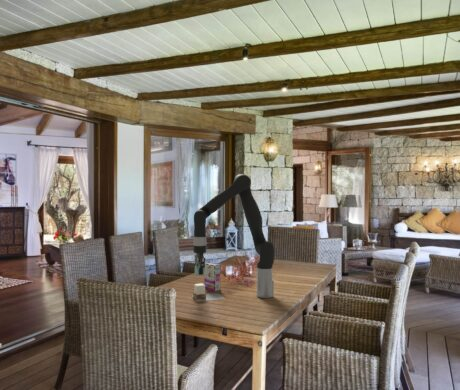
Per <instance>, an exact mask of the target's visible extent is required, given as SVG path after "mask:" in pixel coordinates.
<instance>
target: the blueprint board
mask: <svg viewBox="0 0 460 390" xmlns="http://www.w3.org/2000/svg"><path fill="white" fill-rule="evenodd" d="M205 294H206V299H203V300H195V299H194V300H195V301H196V302H209V301H217V300H226V298H225V297H224V296H223V295H222V294H220V293H218V292H216V293H205ZM191 298H193V295H191Z"/></svg>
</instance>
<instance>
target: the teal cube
mask: <svg viewBox="0 0 460 390" xmlns="http://www.w3.org/2000/svg"><path fill="white" fill-rule="evenodd" d="M194 275H196V276H200V275H199V266H196V265H195V266H194ZM202 276H205V267H204V268H203V275H202Z"/></svg>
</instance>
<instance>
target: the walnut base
mask: <svg viewBox="0 0 460 390" xmlns="http://www.w3.org/2000/svg"><path fill="white" fill-rule="evenodd" d="M206 294H207V293H205V294H199V295H197V294H195V293H194V292H193V293H192V296H193V297H192V298H193V299H194V300H203V299H206Z"/></svg>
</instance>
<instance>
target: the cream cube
mask: <svg viewBox="0 0 460 390" xmlns="http://www.w3.org/2000/svg"><path fill="white" fill-rule="evenodd" d="M193 288H194V290H193V291H194V293H195V294H197V295H199V294H206V288H205V285H204V282H201V283H194V286H193Z"/></svg>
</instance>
